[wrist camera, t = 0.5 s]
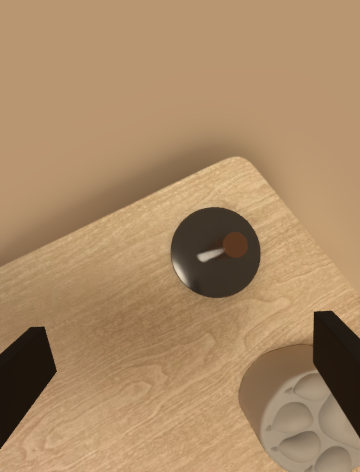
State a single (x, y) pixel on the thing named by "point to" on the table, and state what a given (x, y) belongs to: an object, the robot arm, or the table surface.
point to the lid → (215, 252)
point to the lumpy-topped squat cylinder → (297, 414)
